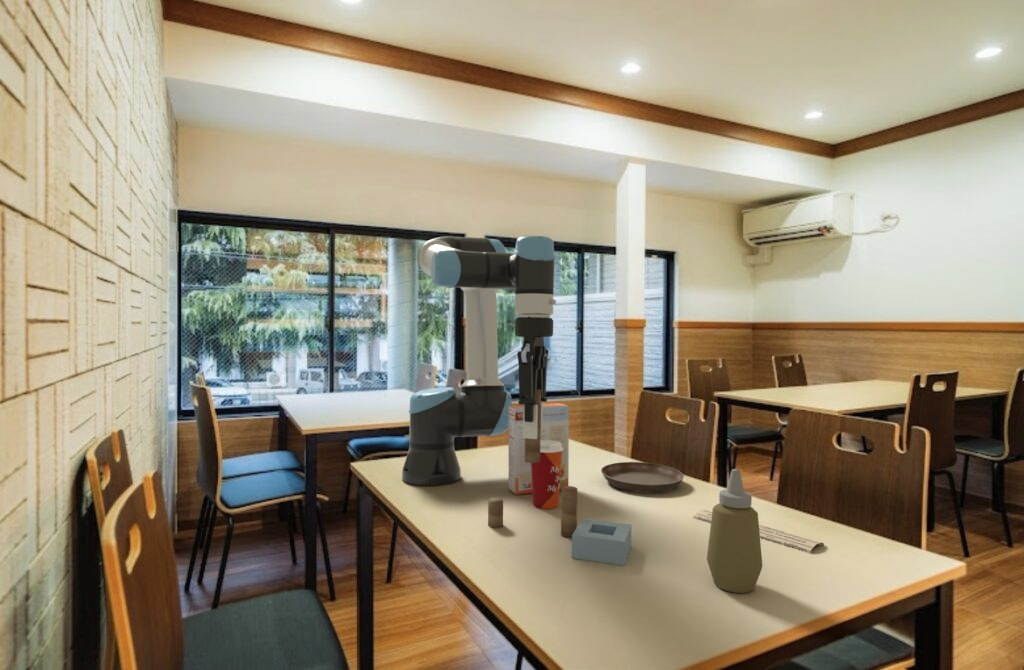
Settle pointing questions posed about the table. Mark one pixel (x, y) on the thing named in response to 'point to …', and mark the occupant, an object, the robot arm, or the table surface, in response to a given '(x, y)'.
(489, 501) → the short walnut peg
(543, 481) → the paper cup
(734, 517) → the squeeze bottle
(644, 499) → the table surface
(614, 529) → the slate-blue socket block
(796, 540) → the newspaper
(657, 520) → the table surface
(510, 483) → the cracker box
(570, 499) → the medium walnut peg
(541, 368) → the robot arm
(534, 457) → the long walnut peg
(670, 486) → the plant saucer
